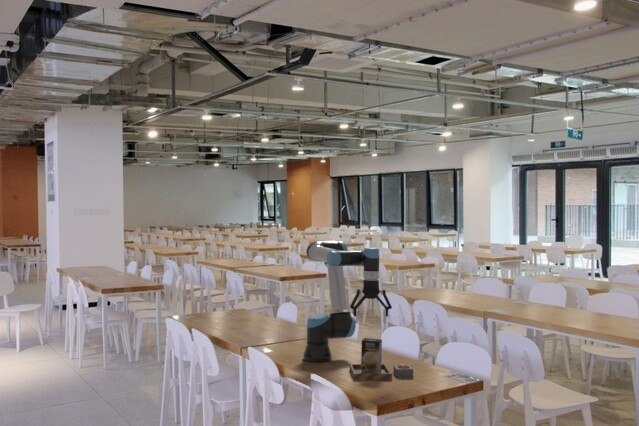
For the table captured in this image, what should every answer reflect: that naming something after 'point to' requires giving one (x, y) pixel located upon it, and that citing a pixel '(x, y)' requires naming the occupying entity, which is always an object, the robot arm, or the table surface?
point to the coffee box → (371, 355)
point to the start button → (403, 366)
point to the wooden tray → (357, 374)
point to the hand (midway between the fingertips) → (370, 323)
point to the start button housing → (403, 372)
